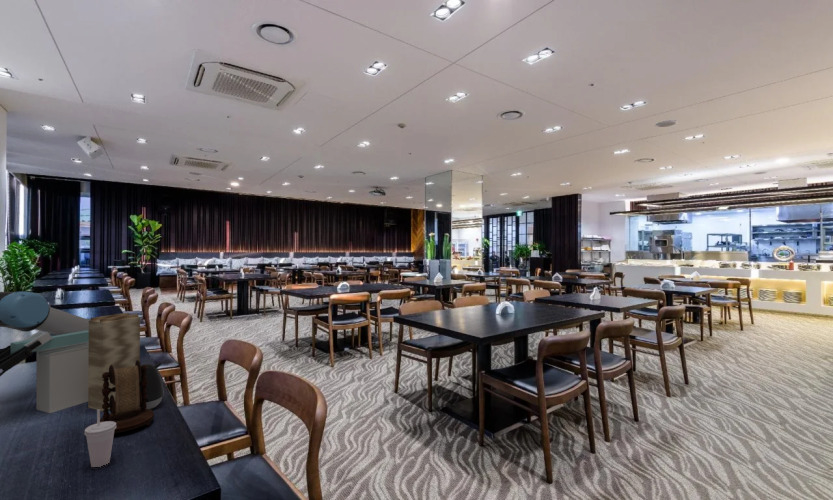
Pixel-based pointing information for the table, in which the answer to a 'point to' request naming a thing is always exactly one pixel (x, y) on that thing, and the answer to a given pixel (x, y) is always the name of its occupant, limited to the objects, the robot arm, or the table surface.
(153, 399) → the pump dispenser
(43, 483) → the table surface
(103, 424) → the smoothie
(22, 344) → the teal block
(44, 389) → the block
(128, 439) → the table surface
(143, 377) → the scroll
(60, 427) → the table surface
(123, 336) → the brown tall block
